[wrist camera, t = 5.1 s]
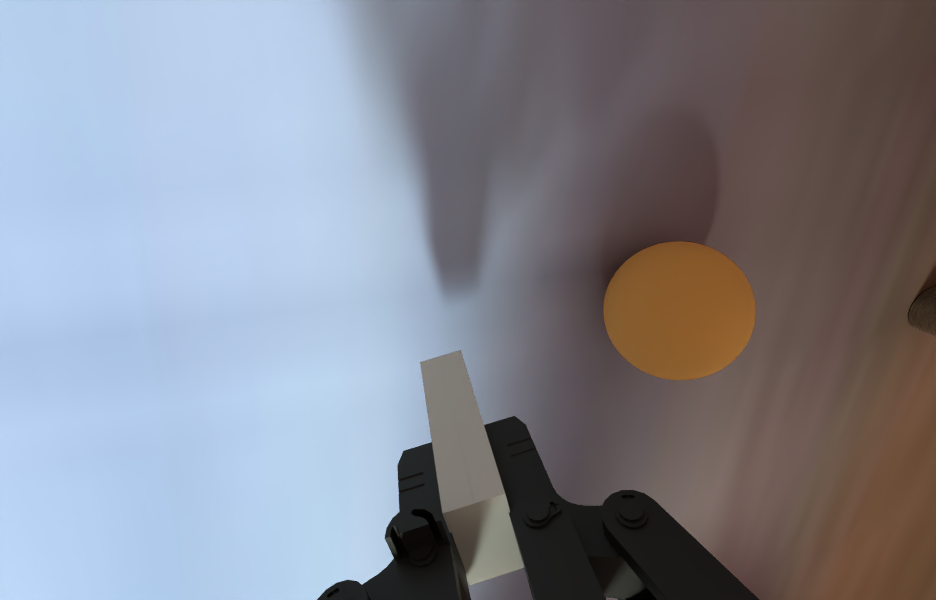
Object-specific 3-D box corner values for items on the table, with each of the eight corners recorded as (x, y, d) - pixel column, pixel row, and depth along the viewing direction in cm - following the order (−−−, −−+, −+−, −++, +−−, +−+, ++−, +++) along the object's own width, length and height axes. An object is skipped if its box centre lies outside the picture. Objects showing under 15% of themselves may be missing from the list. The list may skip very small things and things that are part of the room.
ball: (589, 352, 22) (651, 426, 17) (574, 245, 20) (640, 295, 15) (697, 320, 22) (788, 383, 17) (695, 211, 20) (799, 248, 15)
